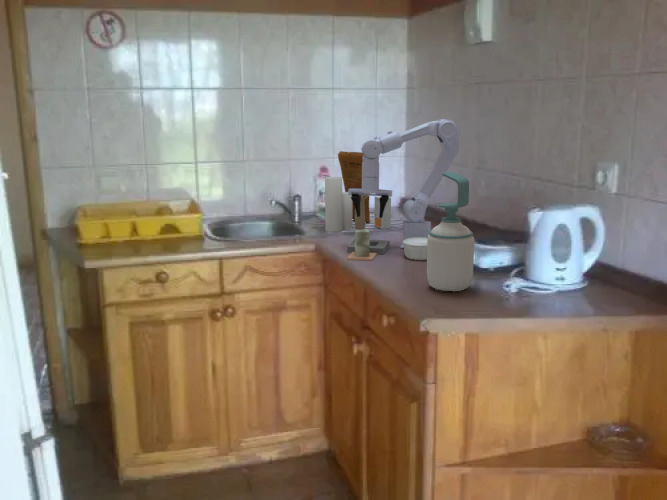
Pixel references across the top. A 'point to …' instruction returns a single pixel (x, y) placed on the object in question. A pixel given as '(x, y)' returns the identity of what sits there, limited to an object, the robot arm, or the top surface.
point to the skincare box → (386, 219)
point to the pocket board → (372, 246)
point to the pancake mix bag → (353, 176)
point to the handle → (361, 214)
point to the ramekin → (416, 248)
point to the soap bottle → (451, 245)
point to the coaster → (354, 257)
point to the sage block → (362, 243)
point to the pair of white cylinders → (337, 206)
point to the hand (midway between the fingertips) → (369, 217)
